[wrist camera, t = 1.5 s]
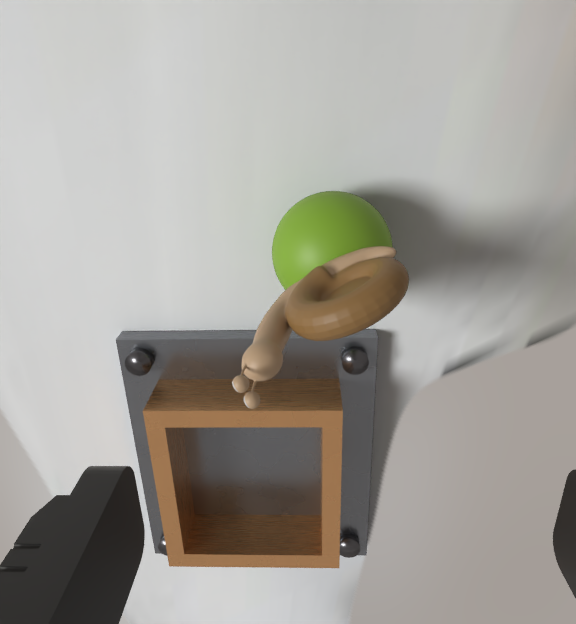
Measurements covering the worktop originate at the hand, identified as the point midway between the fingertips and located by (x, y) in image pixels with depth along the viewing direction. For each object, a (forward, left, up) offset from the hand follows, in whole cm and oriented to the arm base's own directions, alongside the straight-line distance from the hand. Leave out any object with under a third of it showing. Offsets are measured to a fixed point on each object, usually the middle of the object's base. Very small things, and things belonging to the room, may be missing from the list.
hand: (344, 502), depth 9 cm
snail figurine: (0, 0, -18) cm, 18 cm away
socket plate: (+13, -4, -18) cm, 22 cm away
